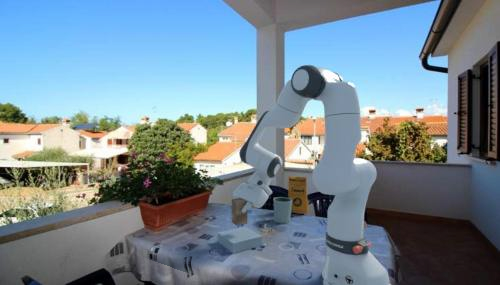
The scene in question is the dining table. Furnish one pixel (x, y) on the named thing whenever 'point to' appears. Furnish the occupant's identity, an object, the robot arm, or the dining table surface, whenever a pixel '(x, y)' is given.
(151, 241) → the dining table surface
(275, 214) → the embossed ceramic cup
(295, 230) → the dining table surface
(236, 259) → the dining table surface
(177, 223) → the dining table surface
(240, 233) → the slate base
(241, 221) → the walnut block
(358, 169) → the robot arm
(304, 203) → the coffee package
